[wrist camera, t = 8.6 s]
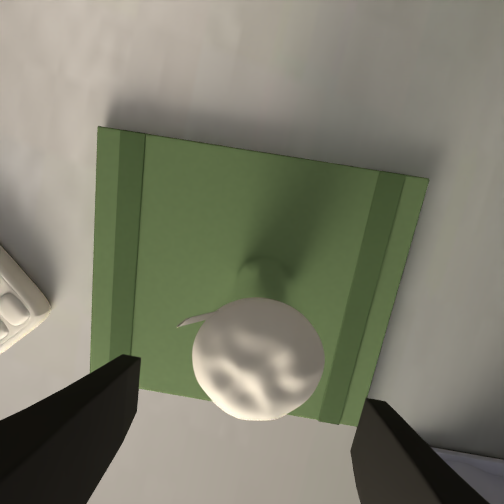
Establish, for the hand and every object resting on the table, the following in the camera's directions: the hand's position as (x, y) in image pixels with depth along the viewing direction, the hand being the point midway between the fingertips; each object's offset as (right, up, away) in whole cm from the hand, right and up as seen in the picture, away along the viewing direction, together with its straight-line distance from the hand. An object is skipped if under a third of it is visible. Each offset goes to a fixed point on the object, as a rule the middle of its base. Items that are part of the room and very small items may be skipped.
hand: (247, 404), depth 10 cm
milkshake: (+1, +3, +9) cm, 9 cm away
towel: (-1, +3, +10) cm, 10 cm away
